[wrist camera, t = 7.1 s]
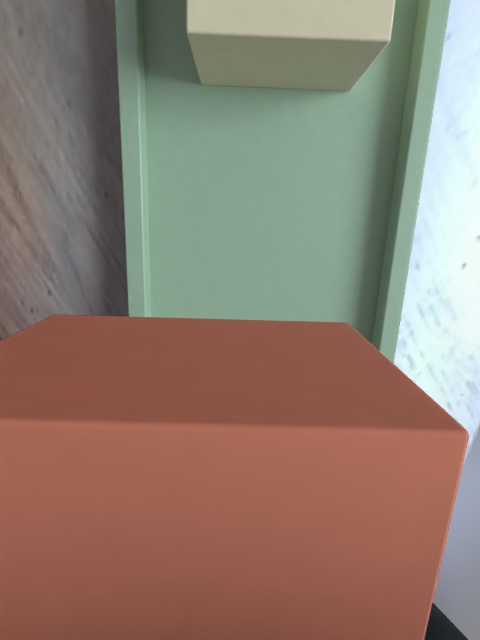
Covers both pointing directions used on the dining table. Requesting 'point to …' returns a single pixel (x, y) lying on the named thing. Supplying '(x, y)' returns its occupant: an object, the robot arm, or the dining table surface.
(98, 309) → the dining table surface
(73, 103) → the dining table surface
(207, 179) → the green shallow rectangular tray
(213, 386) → the coral block
